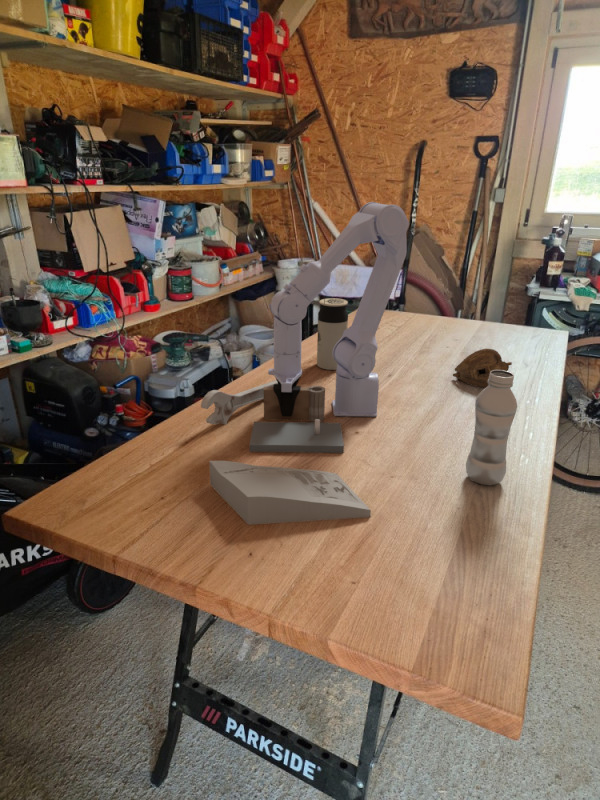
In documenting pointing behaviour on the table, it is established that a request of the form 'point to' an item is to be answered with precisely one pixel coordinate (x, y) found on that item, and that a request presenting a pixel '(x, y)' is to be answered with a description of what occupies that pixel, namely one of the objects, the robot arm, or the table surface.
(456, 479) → the table surface
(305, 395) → the door
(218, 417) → the wrench
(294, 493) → the ramp
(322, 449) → the hinge board
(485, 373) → the lumpy brown dome
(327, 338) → the travel mug
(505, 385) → the plastic bottle
